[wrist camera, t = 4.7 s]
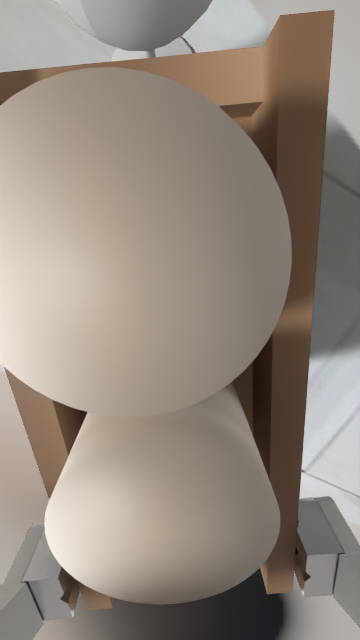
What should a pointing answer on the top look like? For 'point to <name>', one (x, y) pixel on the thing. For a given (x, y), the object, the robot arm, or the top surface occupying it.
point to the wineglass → (137, 24)
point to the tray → (166, 306)
